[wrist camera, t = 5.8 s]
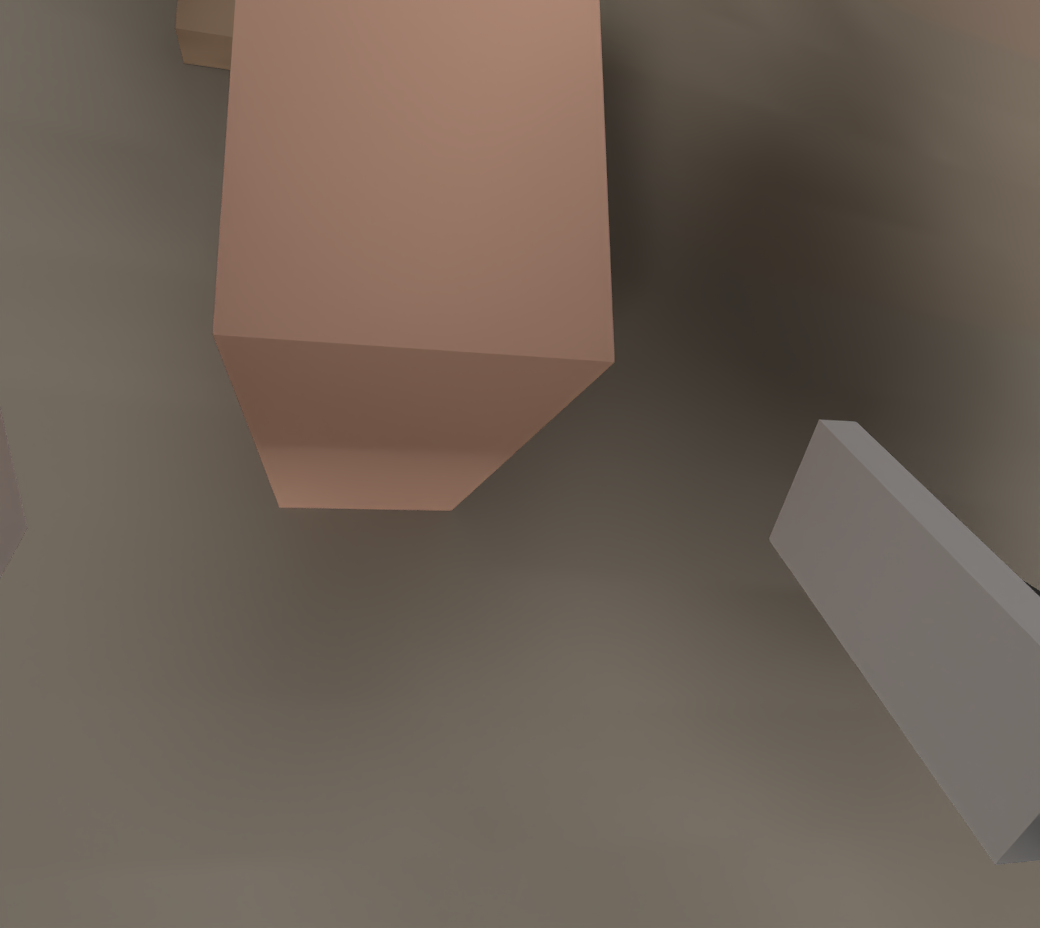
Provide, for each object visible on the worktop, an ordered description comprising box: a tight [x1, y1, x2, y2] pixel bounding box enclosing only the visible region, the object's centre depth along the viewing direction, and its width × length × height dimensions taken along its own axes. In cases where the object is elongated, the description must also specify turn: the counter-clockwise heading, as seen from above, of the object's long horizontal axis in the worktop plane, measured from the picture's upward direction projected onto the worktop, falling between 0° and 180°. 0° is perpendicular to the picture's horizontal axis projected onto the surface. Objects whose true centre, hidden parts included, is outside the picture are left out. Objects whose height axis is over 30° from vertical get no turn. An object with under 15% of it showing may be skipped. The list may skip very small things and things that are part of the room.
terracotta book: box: [213, 0, 615, 511], centre depth 17 cm, size 5×8×14 cm, turn 1°
